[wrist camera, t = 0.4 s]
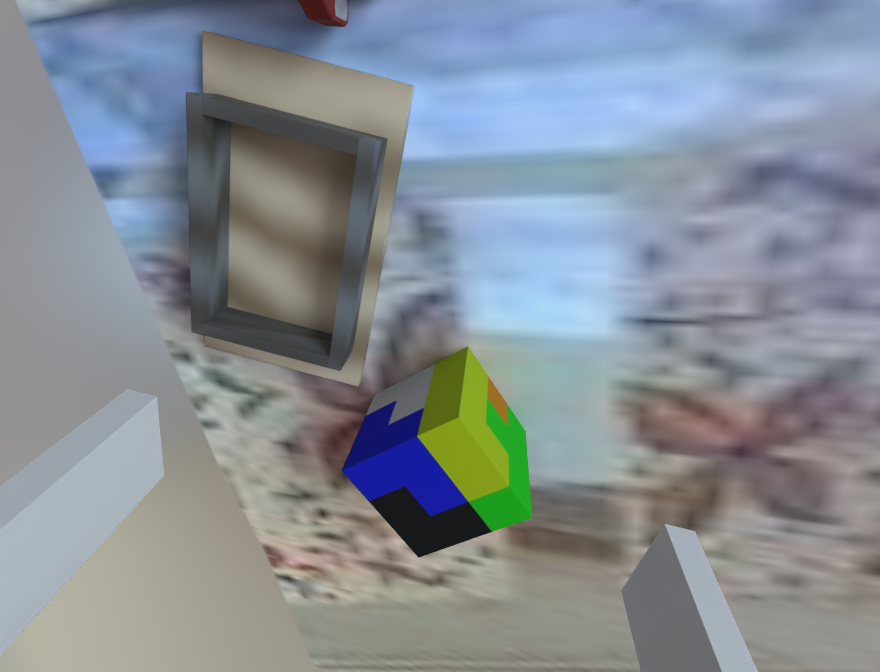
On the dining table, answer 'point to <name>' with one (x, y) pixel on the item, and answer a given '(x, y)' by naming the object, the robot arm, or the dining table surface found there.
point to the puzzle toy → (442, 456)
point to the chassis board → (290, 204)
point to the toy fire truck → (326, 11)
